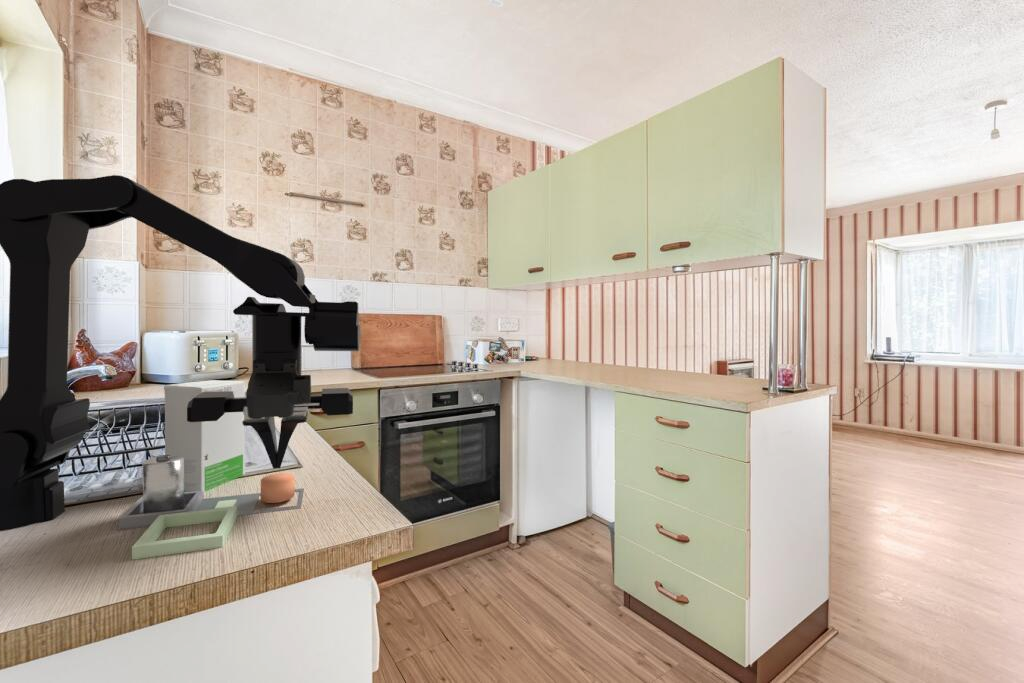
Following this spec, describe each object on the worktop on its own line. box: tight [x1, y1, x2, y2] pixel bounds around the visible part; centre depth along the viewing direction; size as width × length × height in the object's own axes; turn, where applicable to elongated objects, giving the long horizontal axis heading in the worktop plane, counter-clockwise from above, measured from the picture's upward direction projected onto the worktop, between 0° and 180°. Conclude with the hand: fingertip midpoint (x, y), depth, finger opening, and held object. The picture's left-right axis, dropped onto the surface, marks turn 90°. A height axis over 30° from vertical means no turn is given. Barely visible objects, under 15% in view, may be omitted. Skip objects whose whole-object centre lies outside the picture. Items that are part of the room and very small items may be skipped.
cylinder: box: [260, 472, 295, 504], centre depth 60 cm, size 4×4×2 cm
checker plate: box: [115, 488, 305, 531], centre depth 58 cm, size 19×7×2 cm, turn 112°
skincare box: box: [163, 379, 246, 493], centre depth 66 cm, size 8×7×16 cm
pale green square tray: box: [131, 506, 238, 561], centre depth 50 cm, size 8×8×2 cm
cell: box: [141, 454, 184, 514], centre depth 55 cm, size 4×4×7 cm
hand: (277, 467), depth 60 cm, fingers closed
